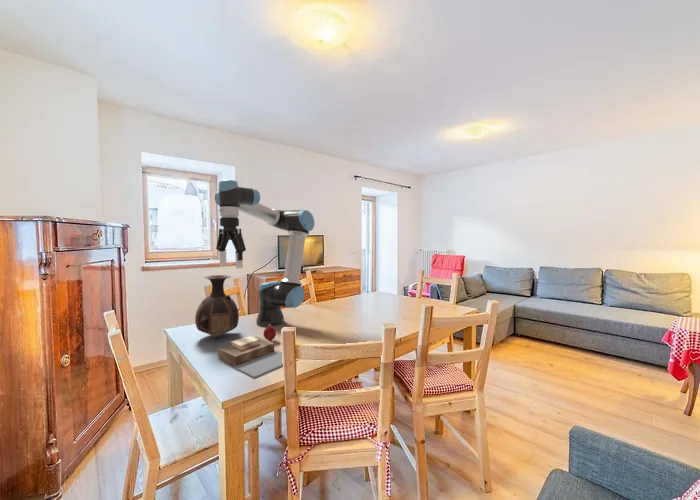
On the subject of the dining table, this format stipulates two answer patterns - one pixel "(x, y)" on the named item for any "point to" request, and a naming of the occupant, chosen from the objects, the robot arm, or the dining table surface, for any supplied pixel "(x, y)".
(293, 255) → the robot arm
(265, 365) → the mat
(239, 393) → the dining table surface
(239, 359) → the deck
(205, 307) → the vase
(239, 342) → the tile
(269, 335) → the onion
